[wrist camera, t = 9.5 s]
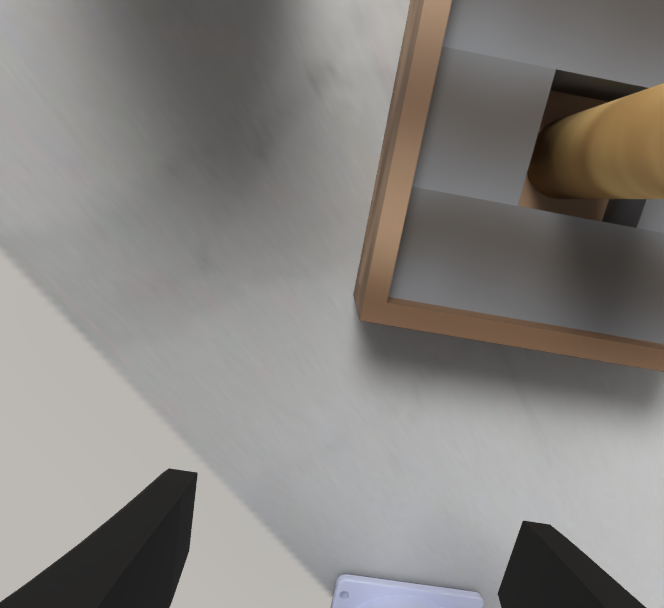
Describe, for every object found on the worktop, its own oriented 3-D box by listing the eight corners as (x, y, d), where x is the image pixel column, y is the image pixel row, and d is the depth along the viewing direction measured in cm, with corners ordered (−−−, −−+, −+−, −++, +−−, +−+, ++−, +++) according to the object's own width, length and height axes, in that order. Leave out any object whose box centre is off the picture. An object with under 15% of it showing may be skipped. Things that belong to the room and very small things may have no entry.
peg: (591, 203, 16) (828, 208, 9) (518, 193, 16) (691, 189, 8) (614, 123, 16) (895, 48, 8) (537, 112, 15) (745, 26, 8)
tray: (651, 345, 19) (734, 383, 15) (353, 294, 18) (359, 320, 14) (785, 1, 16) (937, -64, 12) (425, -76, 15) (458, -173, 11)
